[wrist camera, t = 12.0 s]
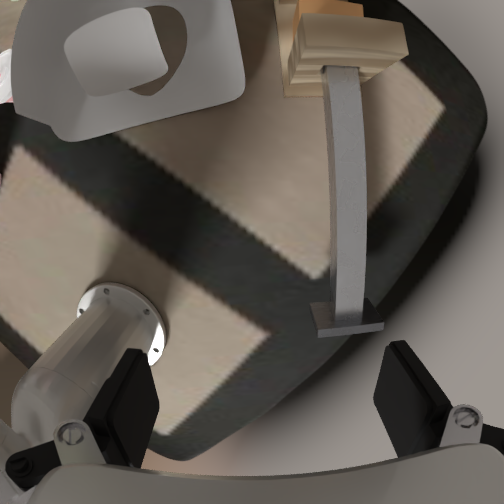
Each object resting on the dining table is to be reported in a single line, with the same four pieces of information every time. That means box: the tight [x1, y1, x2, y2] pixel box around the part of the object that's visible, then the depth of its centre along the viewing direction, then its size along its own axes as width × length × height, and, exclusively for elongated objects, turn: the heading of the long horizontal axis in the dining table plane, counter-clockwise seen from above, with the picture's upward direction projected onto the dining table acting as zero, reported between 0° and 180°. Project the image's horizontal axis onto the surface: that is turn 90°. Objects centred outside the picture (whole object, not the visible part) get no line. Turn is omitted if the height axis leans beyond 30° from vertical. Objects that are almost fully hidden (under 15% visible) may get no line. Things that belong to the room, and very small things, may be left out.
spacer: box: [293, 0, 364, 41], centre depth 23 cm, size 4×6×6 cm
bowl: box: [11, 0, 245, 142], centre depth 21 cm, size 20×19×12 cm
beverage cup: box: [0, 49, 13, 104], centre depth 21 cm, size 6×6×14 cm
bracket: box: [273, 0, 408, 98], centre depth 20 cm, size 14×8×13 cm, turn 4°
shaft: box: [310, 65, 384, 338], centre depth 24 cm, size 22×6×5 cm, turn 4°
